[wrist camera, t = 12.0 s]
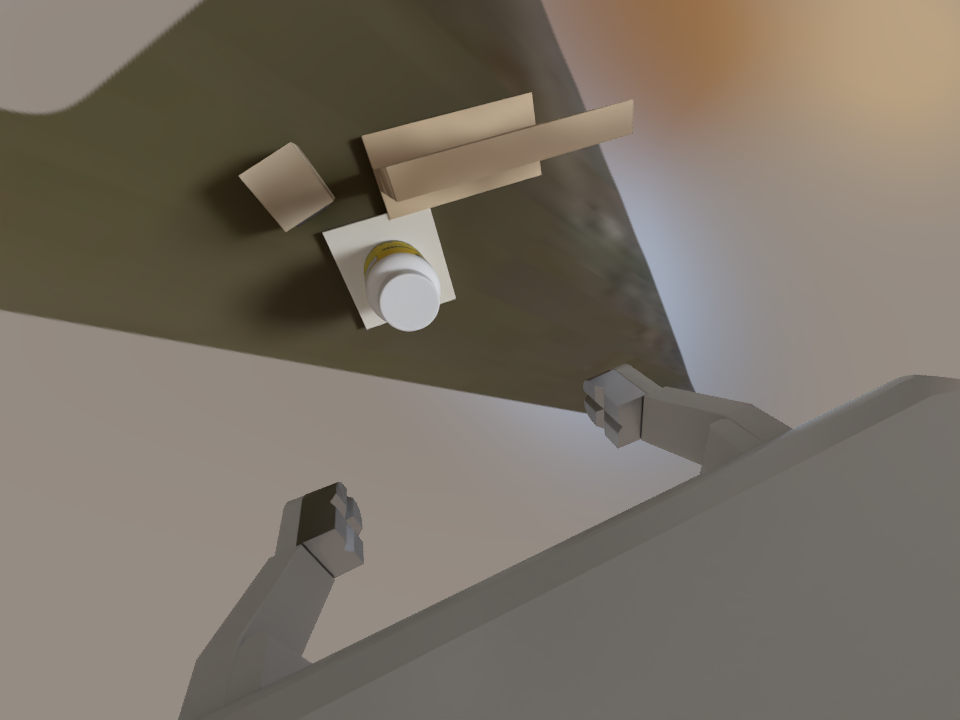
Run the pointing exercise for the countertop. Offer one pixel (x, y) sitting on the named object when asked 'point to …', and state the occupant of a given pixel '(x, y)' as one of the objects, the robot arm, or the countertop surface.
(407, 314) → the supplement bottle
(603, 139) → the tan t-shaped stand
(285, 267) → the countertop surface
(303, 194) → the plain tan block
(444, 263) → the coaster
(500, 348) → the countertop surface
